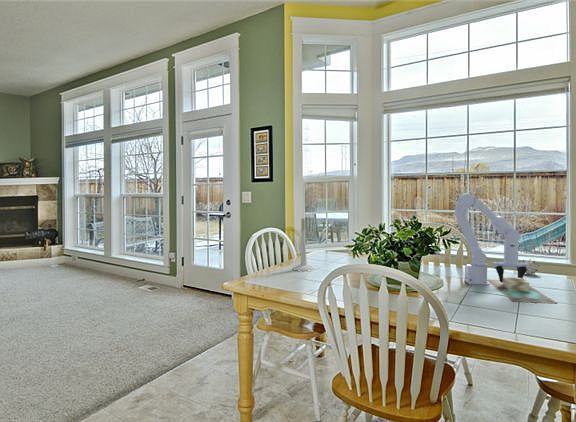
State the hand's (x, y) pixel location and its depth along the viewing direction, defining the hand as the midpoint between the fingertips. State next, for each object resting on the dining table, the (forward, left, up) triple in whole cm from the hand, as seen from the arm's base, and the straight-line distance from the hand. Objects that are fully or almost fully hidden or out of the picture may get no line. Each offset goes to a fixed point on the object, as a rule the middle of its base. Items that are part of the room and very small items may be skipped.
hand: (510, 282), depth 170 cm
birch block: (0, -6, -1) cm, 6 cm away
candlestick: (-102, +20, -2) cm, 104 cm away
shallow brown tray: (0, -8, -1) cm, 9 cm away
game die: (+17, +23, -2) cm, 28 cm away
